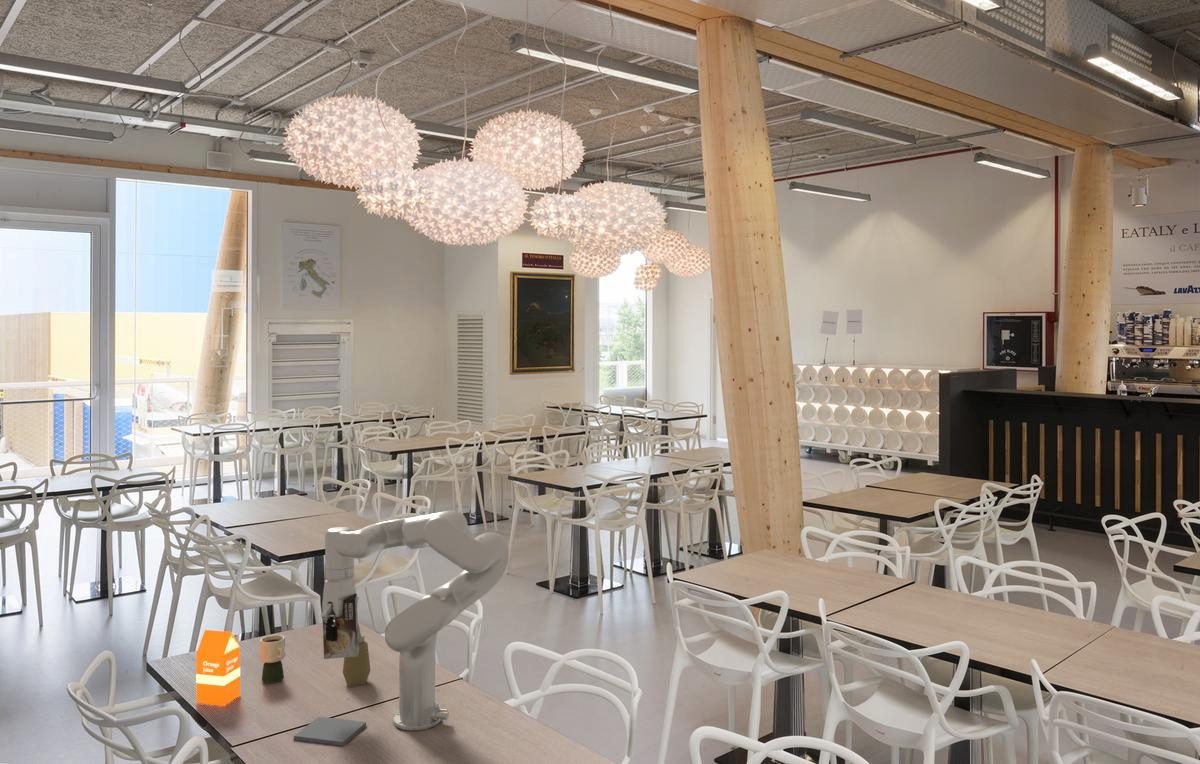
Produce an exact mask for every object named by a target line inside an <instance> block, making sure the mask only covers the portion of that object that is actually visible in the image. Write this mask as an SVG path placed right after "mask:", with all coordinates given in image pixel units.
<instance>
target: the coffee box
mask: <svg viewBox="0 0 1200 764" xmlns="http://www.w3.org/2000/svg"><path fill="white" fill-rule="evenodd" d="M357 597H358V593H356V594H354V595H352V596H350V597H348V598H347V599H345V600H344V601H343V612H342V616H340V617H338V620H337V623H336V626H337V634H338V640H337V641H327V640H326V626H325V624H324V623H323V622H322V639H323V640H322V644H323V659H324V660H330V659H341V658H343V659H344V657H357V656H358V653H359V643H358V624H359V620H358V619H359V617H358V604H357ZM321 609H322V610H321V612H322V613H323V600H322V601H321ZM322 613H321V614H322ZM329 614H332V615H335V613H334V611H333V608H332V610H331V612H330V613H329ZM330 619H331V620H332V621H333V619H334V618H331V617H330Z"/></svg>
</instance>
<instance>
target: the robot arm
mask: <svg viewBox="0 0 1200 764" xmlns="http://www.w3.org/2000/svg"><path fill="white" fill-rule="evenodd" d="M467 530H468V520H467V518H466V516H465V515H464V514H463V513H462V512H460V511H458V510H454V509H453V510H444V511H438V512H433V513H428V514H423V515H417V516H414V517H412V516H411V517H406V518H400V519H399V518H397V519H392V520H388V521H382V522H378V523H372V524H369V525H368V526H363V527H362V528H360V529H356V530H353V529H352V528H350V527H348V526H335V527H331V528H328V529H327V530H326V531H325V534H324V553H325V554H324V555H325V558H324V559H325V560H324V561H325V562H324V563H325V580H324V584H323V593H322V595H323V596H322V601H323V613H321V615H320V616H321V620H322V624H323V623H324V624H325V626H326V640H327V641H337V640H338V634H337V626H336V623H337V620H338V617H340V616H342V612H343V601H344V600H345V599H347V598H348V597H350V596H352V595H354V594H356V581H355V559H359V560H360V559H364V558H368V557H369V556H371V555H373V554H375V553H377V552H380V551H382V550H386V549H390V548H396V547H403V546H407V548H408V549H410V550H418V549H423V548H427V547H430V548H431V549H432V550H433V551H435V552H436V553H438V554H439V555H441V556H442V557H443V558H445V559H446V560H448V561H450V562H451V563H453V564H454V565H455V566H457V567H458V568H460V569H462V570H463V571H461V572H460V573H459V574H457V575H456V576H455V577H453V578H452V579H450V580H449V581H447V582H446V583H444V584H442V585H440V586H439V587H436V588H434V589H433V590H431V591H430V592H428V593H427V594H425V595H424V596H422V597H421V598H420V599H418V600H417V601H415V602H414V603H413V604H411V605H410V606H408V607H407V608H406V609H404V610H403V611H402V612H400V613H399V614H398V615H396V616H395V617H393V618H391V620H390V621H388V623H387V624H386V627H385V630H384V639H385V642H386V645H387V646H388V648H390V649H391V650H392V651H395V652H397V653H399V663H398V664H399V665H398V666H399V669H398V670H399V676H398V679H399V682H398V683H399V685H398V688H399V689H398V690H399V692H398V693H399V695H398V698H399V703H398V704H399V705H398V707H399V711H398V712H397V713H396V714H395V715H394V716H393V724H394V726H395V727H396V728H398V729H399V730H404V731H422V730H429V729H430V728H433V727H435V726H437V725H438V724H440V722H441V720H443V721H444V720H446V721H447V720H448V719H449V710H448V708H440V704H439V701H436V650H437V649H436V647H437V639H438V633H439V632H440V631H441V630H443V629H444V628H445V627H447V626H448V625H449V624H451V623H452V622H453V621H454V620H455V619H457V618H458V617H459V615H461V614H462V613H463V612H465V610H466V609H468V608H469V607H470V606H471V605H473V604H475V603H476V602H478V601H479V600H480V599H481V598H482V597H484V596H485V595H487V594H488V593H489V592H490V591H491V590H492V589H493V588H495V586H497V584H499V582H500V581H501V580H502V578H503V576H504V574H505V573H506V571H507V568H508V563H509V560H510V559H509V558H510V554H509V553H510V552H509V550H510V549H509V546H508V542H507V541H506V538H505V537H504V536H503V535H502V534H500V533H498V532H493V531H490V532H489V531H488V532H484V533H482V534H481V533H480V534H479V535H478V536H476V537H472V536H470V535H469V534H468V533H467ZM359 600H360V597H359V596H357V605H359V604H358V603H359ZM332 608H333V611H334V613H335V615H332V614H329V613H330V612H331V610H332ZM330 617H331V618H334V619H333V621H332V620H331V619H330Z"/></svg>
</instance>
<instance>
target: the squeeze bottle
mask: <svg viewBox="0 0 1200 764" xmlns="http://www.w3.org/2000/svg"><path fill="white" fill-rule="evenodd" d="M358 643H359V653H358V656H357V657H344V658H343V665H342V673H343V677H344V680H345V683H346V685H348V686H350V687H357V686H363V685H365V684H366V683H367V681H368V679H369V675H370V673H371V665H370V662H371V661H370V653H369V646H368V645H369V644H368V642H367V641H365V634H363V633H361V629H360V625H359V623H358Z"/></svg>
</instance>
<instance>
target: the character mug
mask: <svg viewBox="0 0 1200 764" xmlns="http://www.w3.org/2000/svg"><path fill="white" fill-rule="evenodd" d="M285 648H286V637H285V636H284V635H282V634H281V635H280V634H271V635H266V636H263V637H261V638H260V640H259V649H260V650H259V659H260V662H261V663H263V667H262V674H261V682H263V683H266V684H267V683H277V682H279V681H282V680H284V679H285V674H284V668H283V663H282V661H283V659H284V658H285V657H286V652H285Z"/></svg>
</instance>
